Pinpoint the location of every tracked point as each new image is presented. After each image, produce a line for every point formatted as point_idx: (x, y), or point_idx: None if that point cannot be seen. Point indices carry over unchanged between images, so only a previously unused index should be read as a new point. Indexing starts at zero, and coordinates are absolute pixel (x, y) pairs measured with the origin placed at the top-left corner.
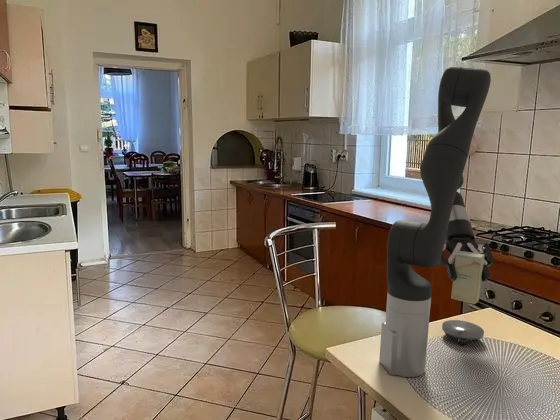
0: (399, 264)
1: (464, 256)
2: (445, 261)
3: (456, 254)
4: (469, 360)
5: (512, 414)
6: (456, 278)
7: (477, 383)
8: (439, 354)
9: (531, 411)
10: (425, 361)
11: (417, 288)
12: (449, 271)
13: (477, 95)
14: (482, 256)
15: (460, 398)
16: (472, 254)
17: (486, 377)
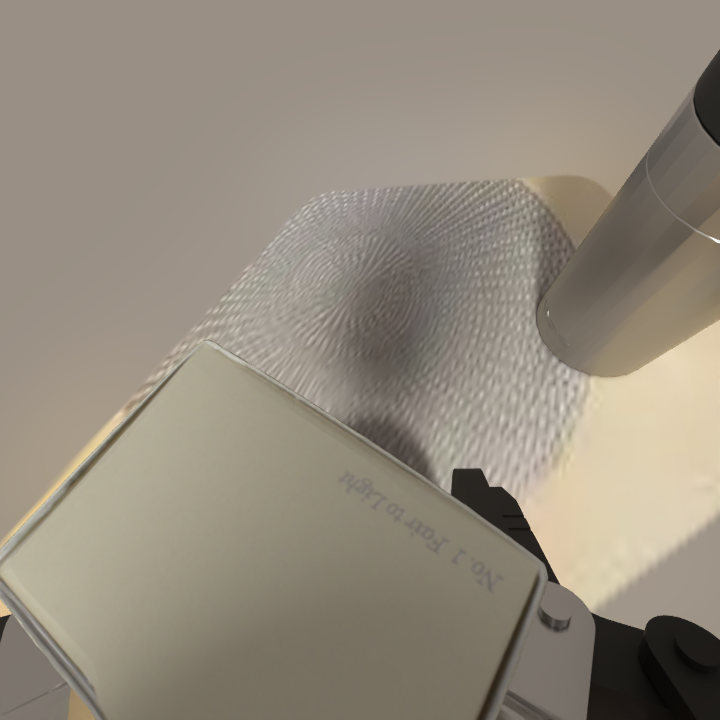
0: None
1: (408, 467)
2: (626, 654)
3: (536, 564)
4: (393, 375)
5: (392, 189)
6: (453, 475)
7: (417, 272)
8: (474, 405)
9: (351, 198)
10: (550, 288)
11: None
12: (527, 530)
13: None
14: (115, 442)
15: (475, 222)
16: (228, 541)
17: (384, 297)
